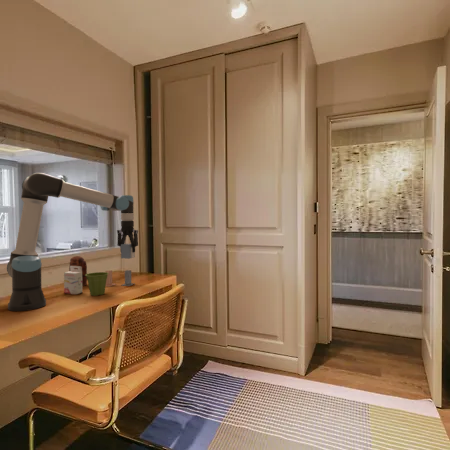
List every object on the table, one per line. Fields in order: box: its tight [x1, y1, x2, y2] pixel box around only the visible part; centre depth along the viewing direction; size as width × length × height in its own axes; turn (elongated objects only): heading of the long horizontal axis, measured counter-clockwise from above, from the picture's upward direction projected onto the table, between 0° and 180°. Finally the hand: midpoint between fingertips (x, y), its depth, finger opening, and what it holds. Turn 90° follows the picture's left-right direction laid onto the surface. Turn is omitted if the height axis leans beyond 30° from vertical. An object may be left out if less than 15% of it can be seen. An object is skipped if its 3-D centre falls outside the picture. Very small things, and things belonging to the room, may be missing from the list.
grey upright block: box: [120, 243, 136, 260], centre depth 192 cm, size 6×6×9 cm
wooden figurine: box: [68, 255, 88, 287], centre depth 191 cm, size 12×6×18 cm, turn 86°
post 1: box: [105, 270, 117, 287], centre depth 191 cm, size 6×6×9 cm
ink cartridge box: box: [63, 265, 83, 295], centre depth 172 cm, size 9×5×15 cm, turn 74°
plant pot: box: [85, 271, 109, 297], centre depth 169 cm, size 12×12×11 cm
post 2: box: [121, 269, 136, 287], centre depth 192 cm, size 6×6×9 cm
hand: (127, 257), depth 192 cm, fingers closed on grey upright block, 6 cm apart
